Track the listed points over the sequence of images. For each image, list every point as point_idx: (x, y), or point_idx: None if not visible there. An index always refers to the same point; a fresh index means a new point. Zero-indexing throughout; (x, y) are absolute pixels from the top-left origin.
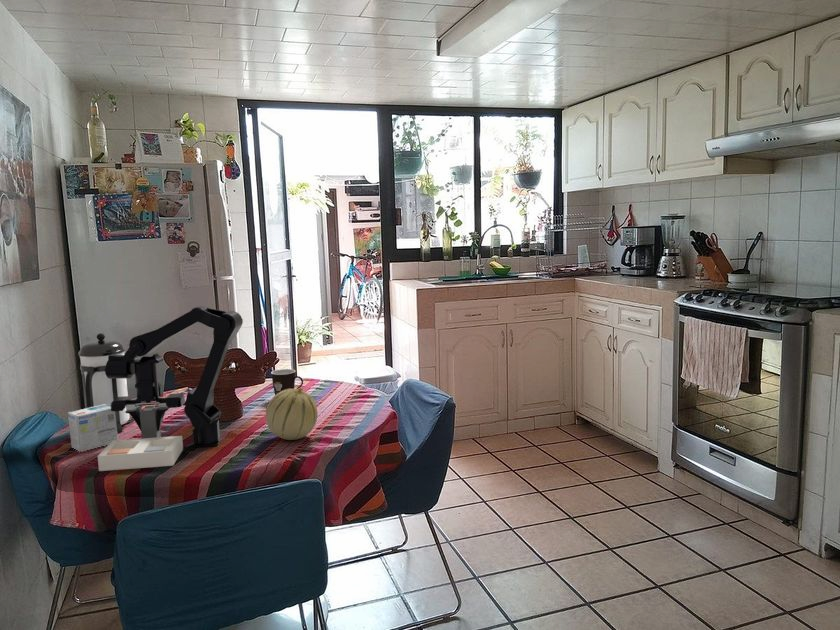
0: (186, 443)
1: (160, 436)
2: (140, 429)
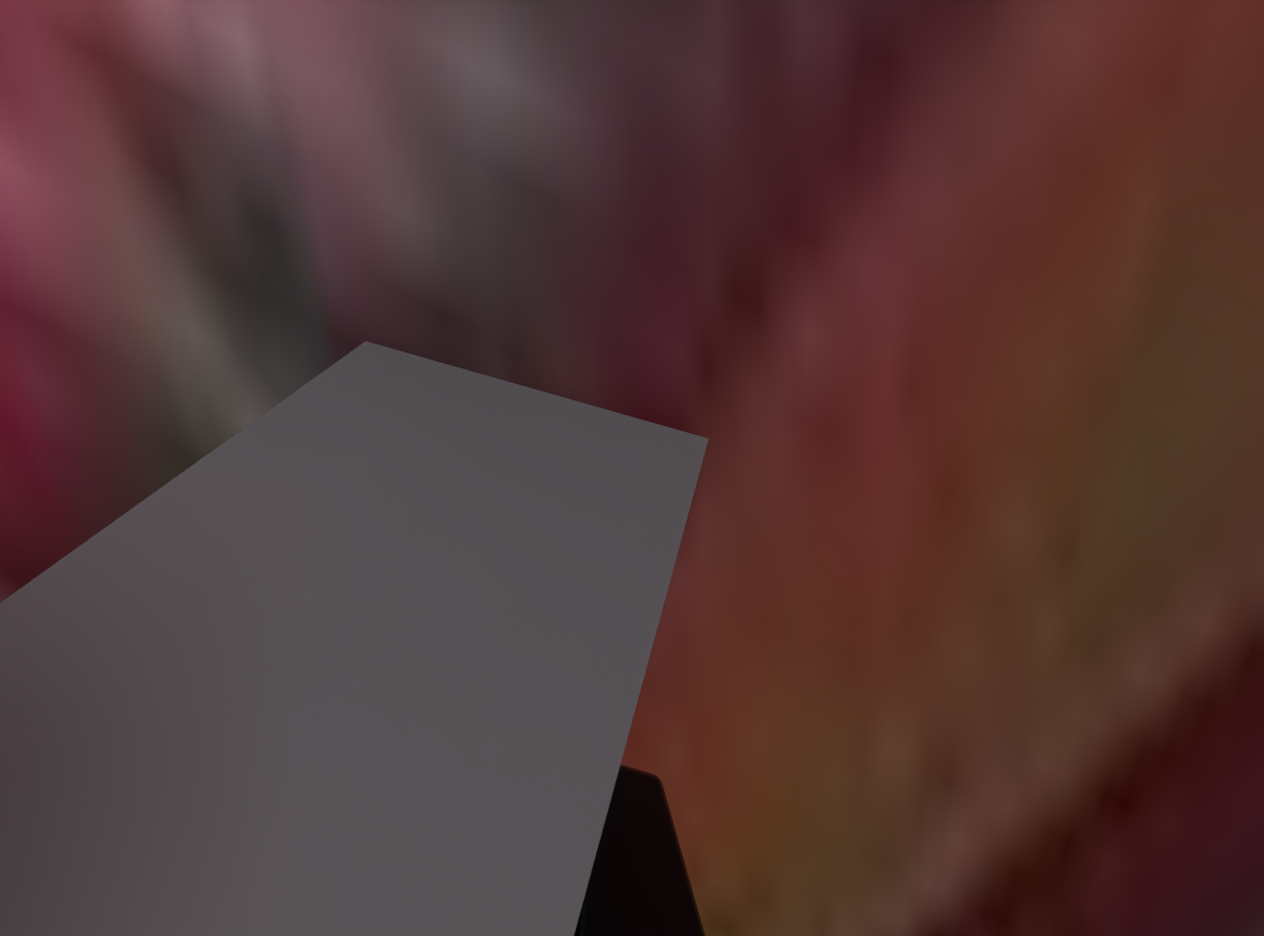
0: (1240, 876)
1: (691, 499)
2: None
